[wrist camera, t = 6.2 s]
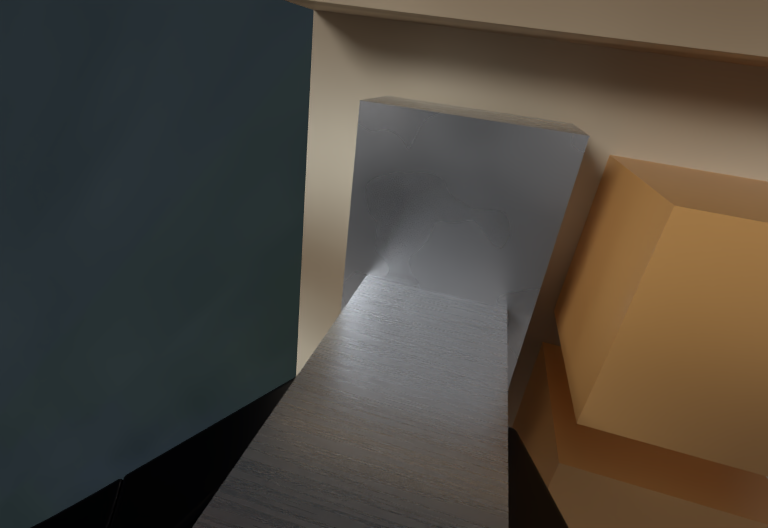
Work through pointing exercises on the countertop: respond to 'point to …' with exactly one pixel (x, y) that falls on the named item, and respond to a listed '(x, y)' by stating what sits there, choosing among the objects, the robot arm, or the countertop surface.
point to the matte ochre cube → (626, 468)
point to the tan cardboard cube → (672, 312)
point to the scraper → (416, 329)
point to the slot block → (532, 106)
